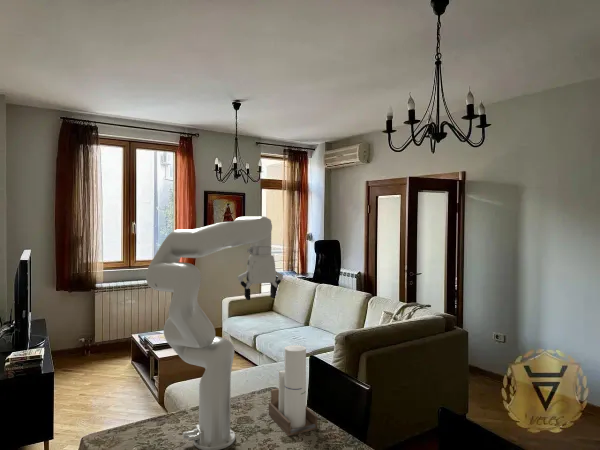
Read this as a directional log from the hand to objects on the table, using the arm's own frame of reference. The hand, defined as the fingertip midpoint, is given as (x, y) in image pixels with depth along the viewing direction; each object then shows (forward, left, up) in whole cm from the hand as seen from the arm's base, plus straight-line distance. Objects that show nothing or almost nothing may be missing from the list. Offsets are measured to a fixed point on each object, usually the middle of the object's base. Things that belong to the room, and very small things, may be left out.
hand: (260, 298), depth 146 cm
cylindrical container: (+7, -16, -40) cm, 43 cm away
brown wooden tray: (+7, -13, -40) cm, 43 cm away
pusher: (+7, -11, -39) cm, 42 cm away
